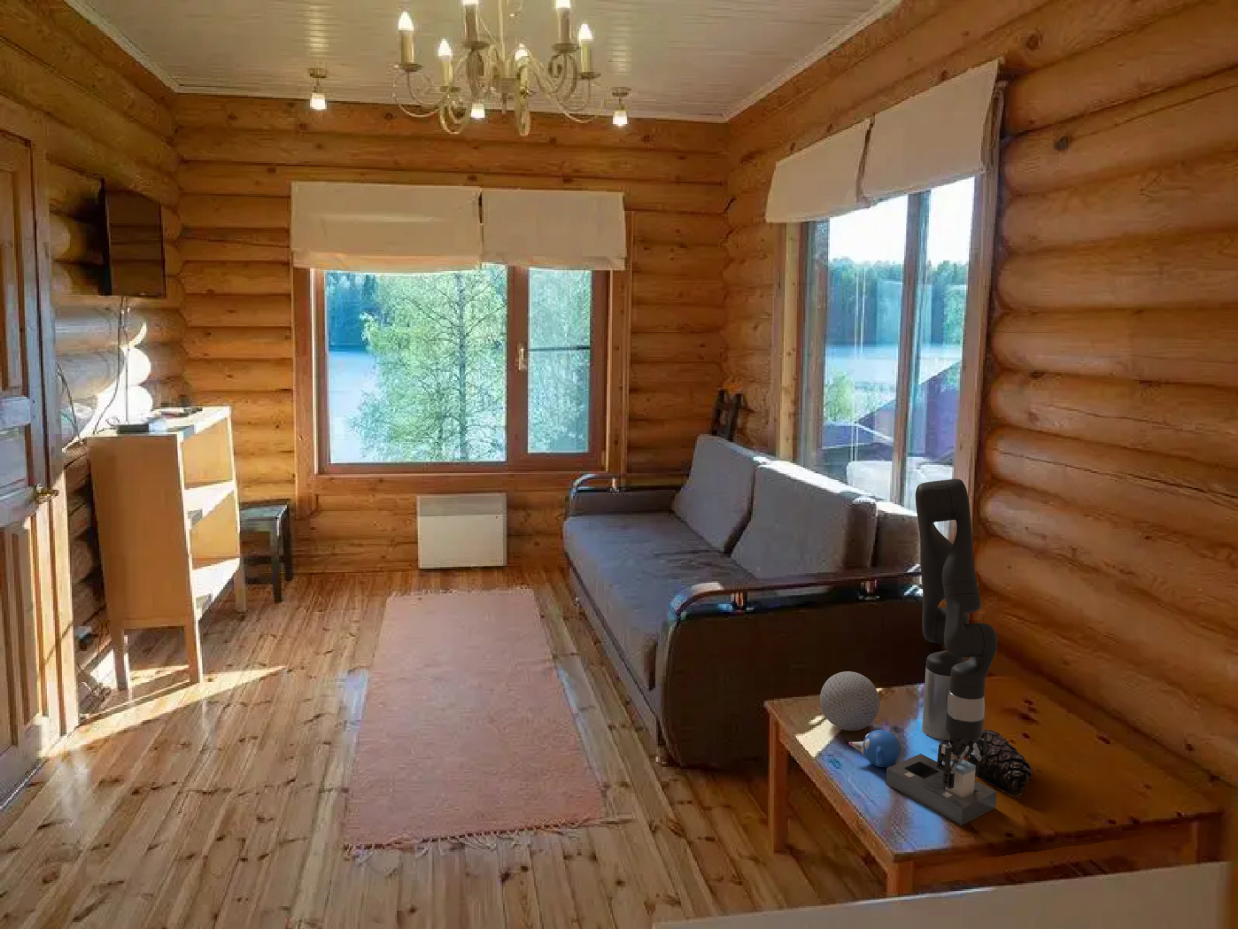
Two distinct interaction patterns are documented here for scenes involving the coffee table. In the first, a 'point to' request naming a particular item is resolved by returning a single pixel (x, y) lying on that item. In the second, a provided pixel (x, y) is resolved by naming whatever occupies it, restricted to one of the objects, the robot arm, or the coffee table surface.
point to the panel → (938, 790)
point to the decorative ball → (849, 701)
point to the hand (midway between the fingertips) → (960, 781)
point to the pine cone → (1003, 765)
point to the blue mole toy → (879, 748)
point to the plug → (963, 780)
